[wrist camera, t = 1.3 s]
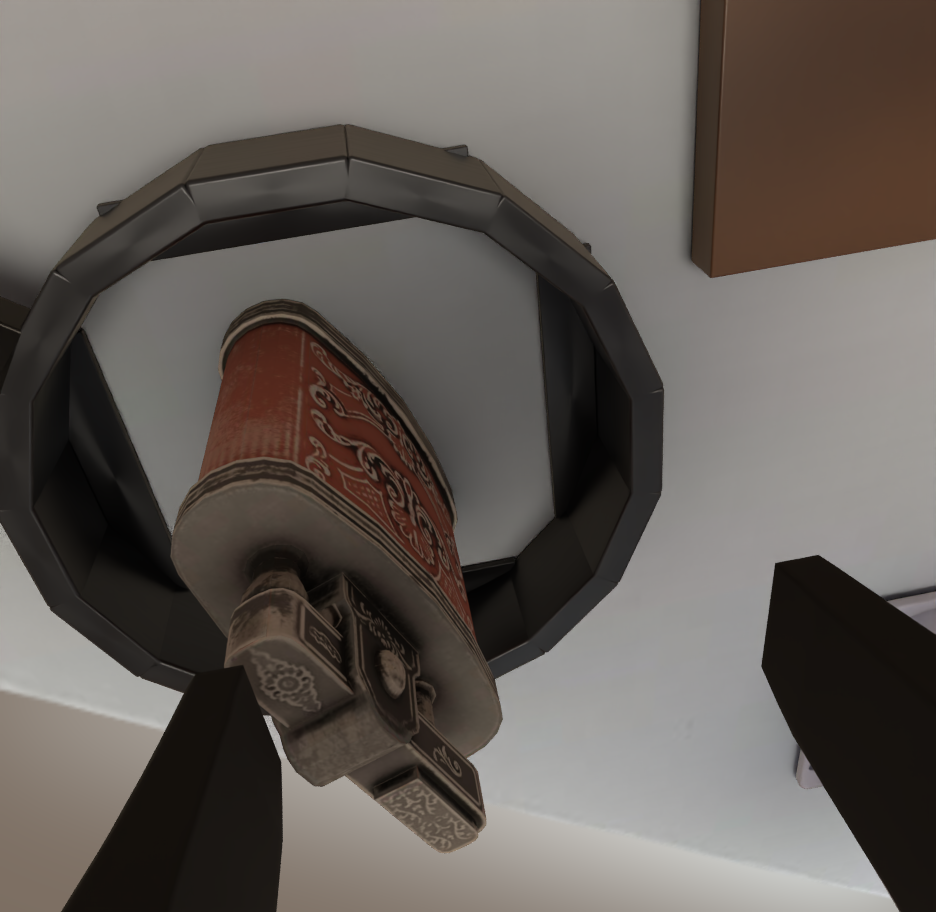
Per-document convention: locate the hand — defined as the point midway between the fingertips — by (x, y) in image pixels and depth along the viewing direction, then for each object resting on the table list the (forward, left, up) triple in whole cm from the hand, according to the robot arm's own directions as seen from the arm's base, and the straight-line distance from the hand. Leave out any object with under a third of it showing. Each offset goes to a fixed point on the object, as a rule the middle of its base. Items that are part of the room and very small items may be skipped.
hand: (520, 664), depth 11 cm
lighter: (-2, +3, -11) cm, 11 cm away
